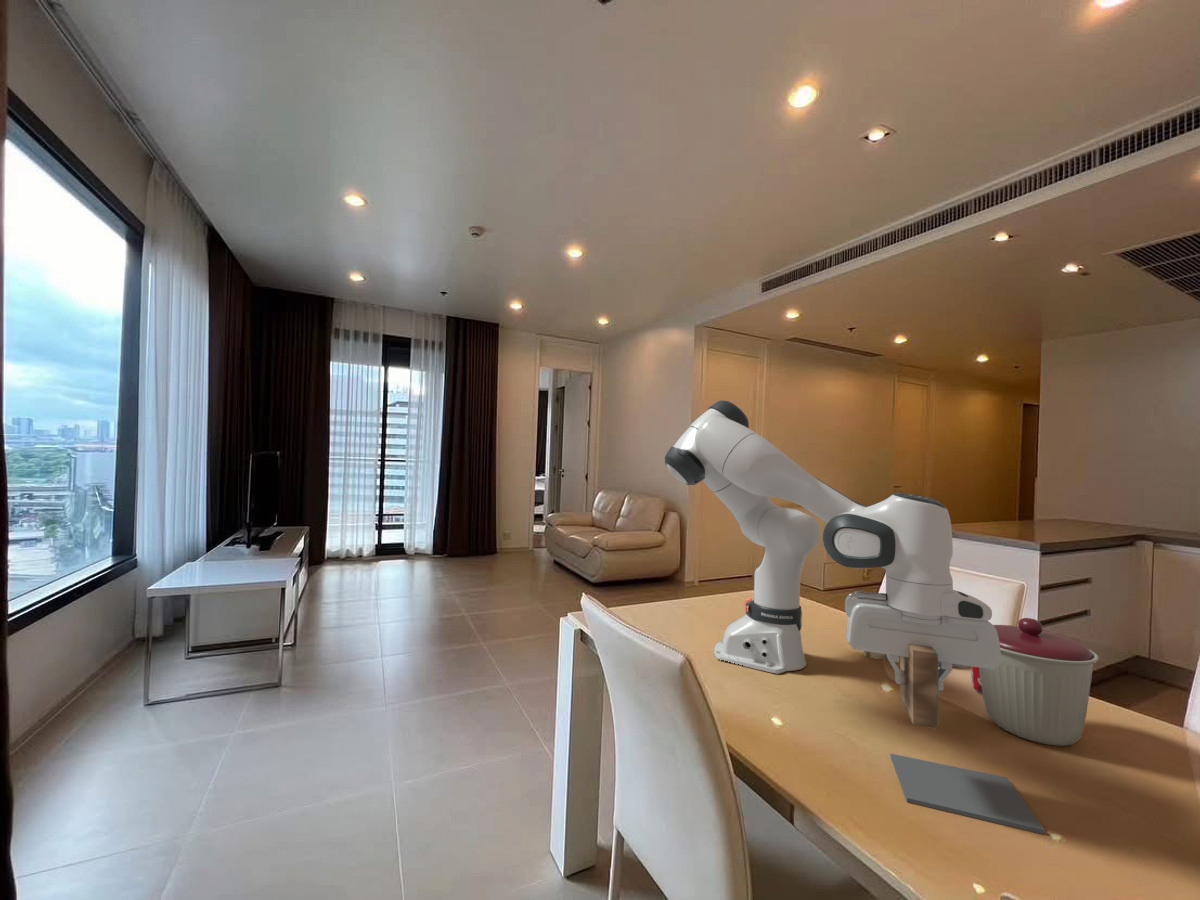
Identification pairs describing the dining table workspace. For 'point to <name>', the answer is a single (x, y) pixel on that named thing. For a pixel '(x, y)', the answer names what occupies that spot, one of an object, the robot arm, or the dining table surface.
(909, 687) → the walnut slab
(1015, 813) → the rubber mat
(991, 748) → the dining table surface
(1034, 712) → the canister
